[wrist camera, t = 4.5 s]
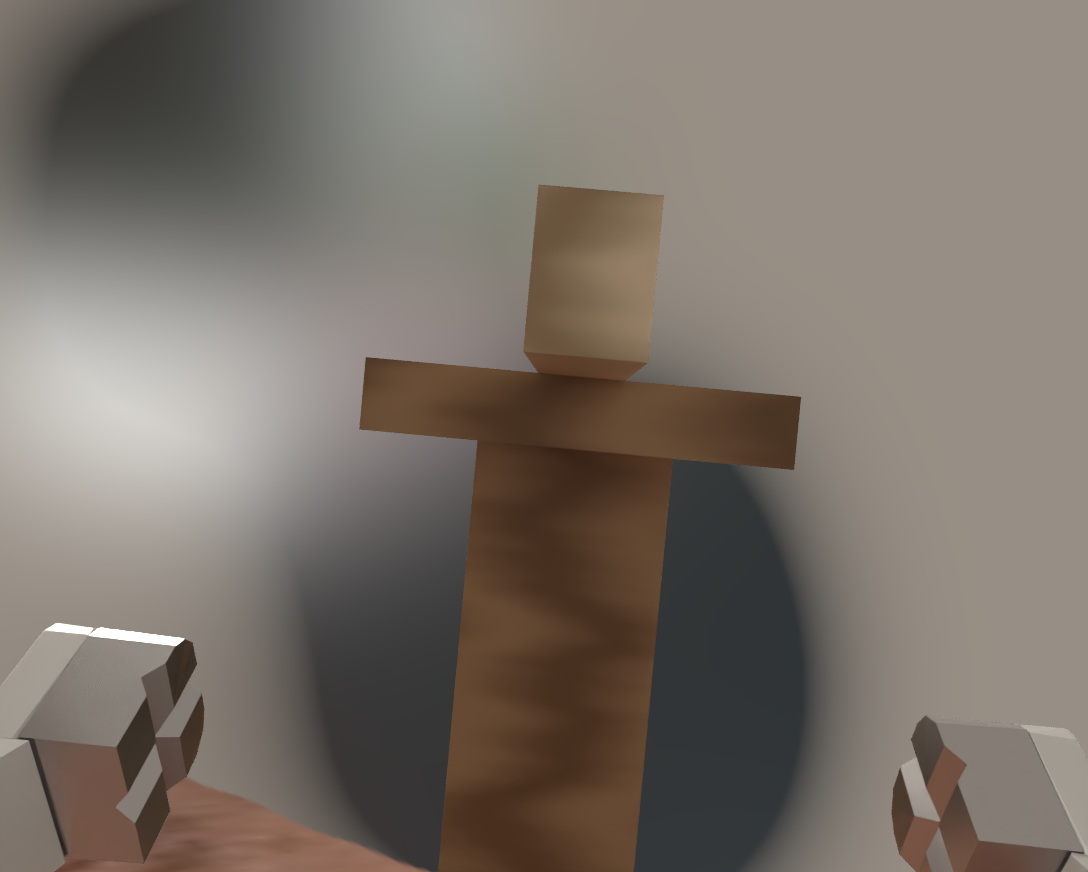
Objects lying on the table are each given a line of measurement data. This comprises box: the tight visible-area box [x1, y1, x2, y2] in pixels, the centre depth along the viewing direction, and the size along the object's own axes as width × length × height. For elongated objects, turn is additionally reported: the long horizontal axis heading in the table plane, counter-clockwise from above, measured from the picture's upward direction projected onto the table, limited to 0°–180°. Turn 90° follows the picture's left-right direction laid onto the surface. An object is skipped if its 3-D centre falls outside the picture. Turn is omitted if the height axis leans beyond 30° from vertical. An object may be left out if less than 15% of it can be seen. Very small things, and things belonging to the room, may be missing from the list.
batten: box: [523, 185, 664, 381], centre depth 28 cm, size 2×19×3 cm, turn 178°
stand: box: [360, 357, 801, 872], centre depth 33 cm, size 12×12×26 cm
